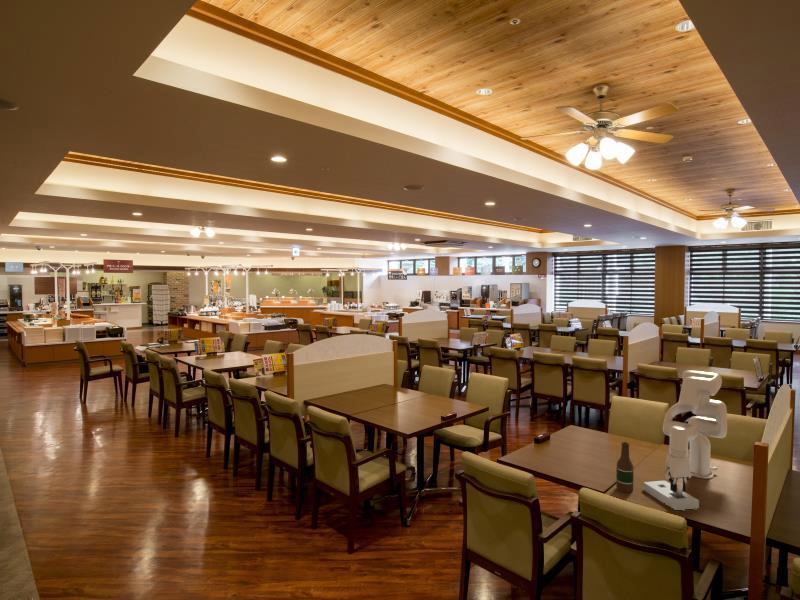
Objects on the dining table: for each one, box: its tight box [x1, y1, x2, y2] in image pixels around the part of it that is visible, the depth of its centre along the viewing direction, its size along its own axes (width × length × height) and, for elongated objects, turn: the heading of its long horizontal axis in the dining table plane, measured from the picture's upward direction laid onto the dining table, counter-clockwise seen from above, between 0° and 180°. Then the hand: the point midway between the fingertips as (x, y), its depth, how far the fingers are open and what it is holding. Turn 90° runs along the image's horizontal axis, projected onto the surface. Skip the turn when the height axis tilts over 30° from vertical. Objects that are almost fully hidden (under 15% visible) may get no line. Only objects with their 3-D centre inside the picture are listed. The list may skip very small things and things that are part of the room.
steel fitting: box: [673, 477, 683, 499], centre depth 219 cm, size 4×4×10 cm
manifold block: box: [642, 480, 700, 511], centre depth 224 cm, size 12×22×4 cm, turn 9°
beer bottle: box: [615, 441, 635, 494], centre depth 235 cm, size 8×8×24 cm
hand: (677, 490), depth 219 cm, fingers closed on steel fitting, 4 cm apart
